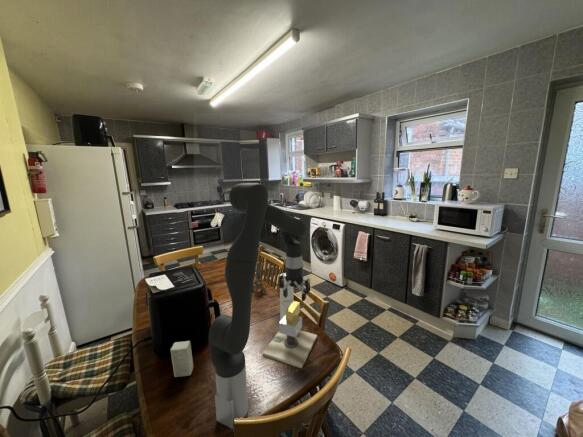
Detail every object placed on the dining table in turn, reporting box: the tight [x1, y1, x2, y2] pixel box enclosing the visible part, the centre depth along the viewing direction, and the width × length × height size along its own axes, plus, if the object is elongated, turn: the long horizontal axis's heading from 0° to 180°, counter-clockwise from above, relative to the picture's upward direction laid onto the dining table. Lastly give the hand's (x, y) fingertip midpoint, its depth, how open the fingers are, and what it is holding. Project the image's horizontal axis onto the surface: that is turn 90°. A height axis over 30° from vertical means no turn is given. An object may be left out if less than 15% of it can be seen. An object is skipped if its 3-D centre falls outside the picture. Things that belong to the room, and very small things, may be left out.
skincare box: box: [169, 340, 194, 378], centre depth 91 cm, size 6×4×12 cm
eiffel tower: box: [252, 255, 268, 298], centre depth 153 cm, size 11×11×25 cm
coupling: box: [278, 300, 303, 337], centre depth 105 cm, size 11×8×10 cm
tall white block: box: [278, 272, 295, 321], centre depth 123 cm, size 7×7×25 cm
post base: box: [262, 329, 318, 369], centre depth 105 cm, size 20×18×11 cm
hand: (294, 298), depth 106 cm, fingers open, 8 cm apart
